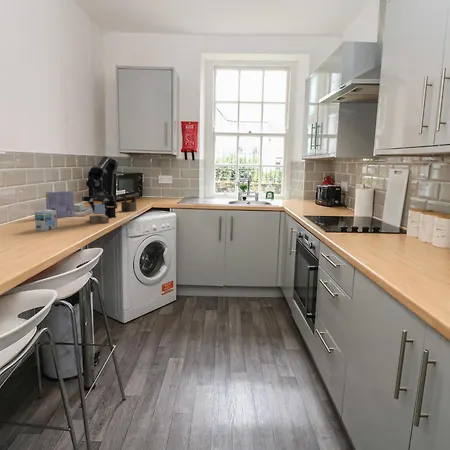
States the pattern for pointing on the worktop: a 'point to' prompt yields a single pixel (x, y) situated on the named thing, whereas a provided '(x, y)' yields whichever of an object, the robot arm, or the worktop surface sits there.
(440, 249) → the worktop surface
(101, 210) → the slate-blue cube
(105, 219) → the walnut block
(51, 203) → the cake pan box
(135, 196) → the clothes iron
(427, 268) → the worktop surface
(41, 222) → the light bulb box
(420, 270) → the worktop surface
